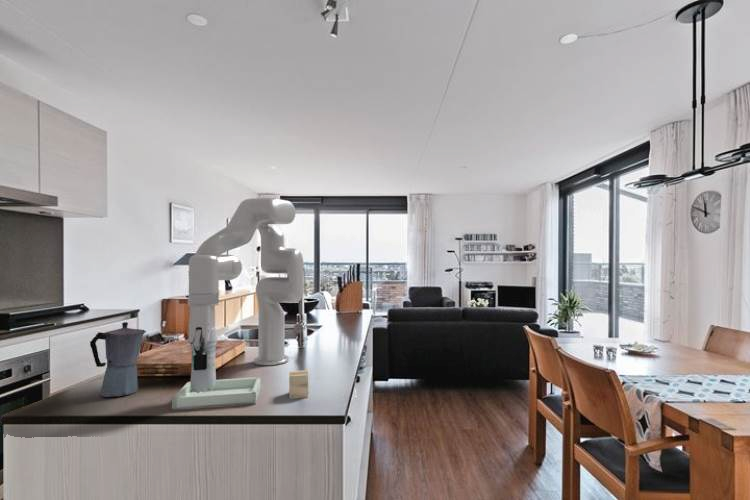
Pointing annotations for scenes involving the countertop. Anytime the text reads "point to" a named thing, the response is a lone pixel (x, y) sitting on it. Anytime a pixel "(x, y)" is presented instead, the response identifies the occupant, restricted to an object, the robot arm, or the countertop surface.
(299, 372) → the block
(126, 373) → the moka pot
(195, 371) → the bottle
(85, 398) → the countertop surface
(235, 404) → the tray
